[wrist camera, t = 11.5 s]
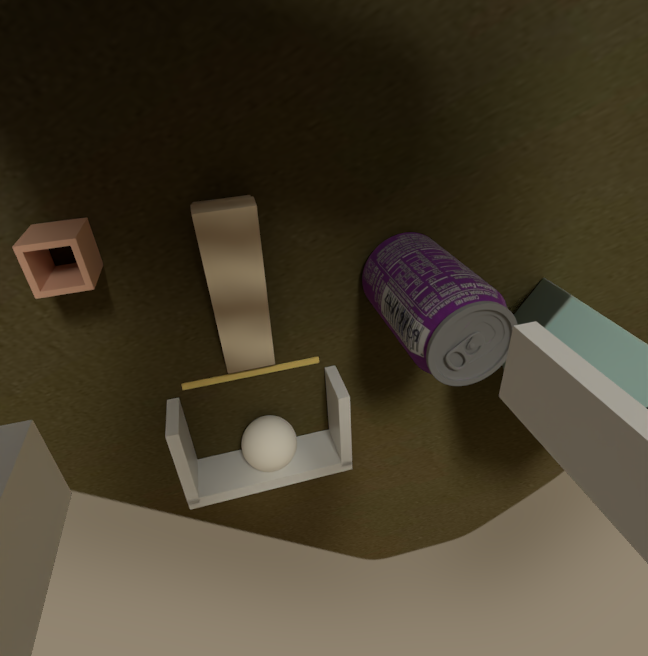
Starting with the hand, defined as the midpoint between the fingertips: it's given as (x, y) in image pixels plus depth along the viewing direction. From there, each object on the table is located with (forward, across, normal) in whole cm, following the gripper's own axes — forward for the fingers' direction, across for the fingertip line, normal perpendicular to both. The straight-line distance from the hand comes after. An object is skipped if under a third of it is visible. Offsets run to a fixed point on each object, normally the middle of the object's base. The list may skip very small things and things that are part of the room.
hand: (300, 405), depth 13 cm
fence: (+23, -1, -21) cm, 31 cm away
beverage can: (+23, +13, -8) cm, 28 cm away
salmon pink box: (+23, -11, -2) cm, 26 cm away
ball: (+20, 0, -22) cm, 30 cm away
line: (+23, -1, -16) cm, 28 cm away
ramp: (+23, -1, -7) cm, 24 cm away
